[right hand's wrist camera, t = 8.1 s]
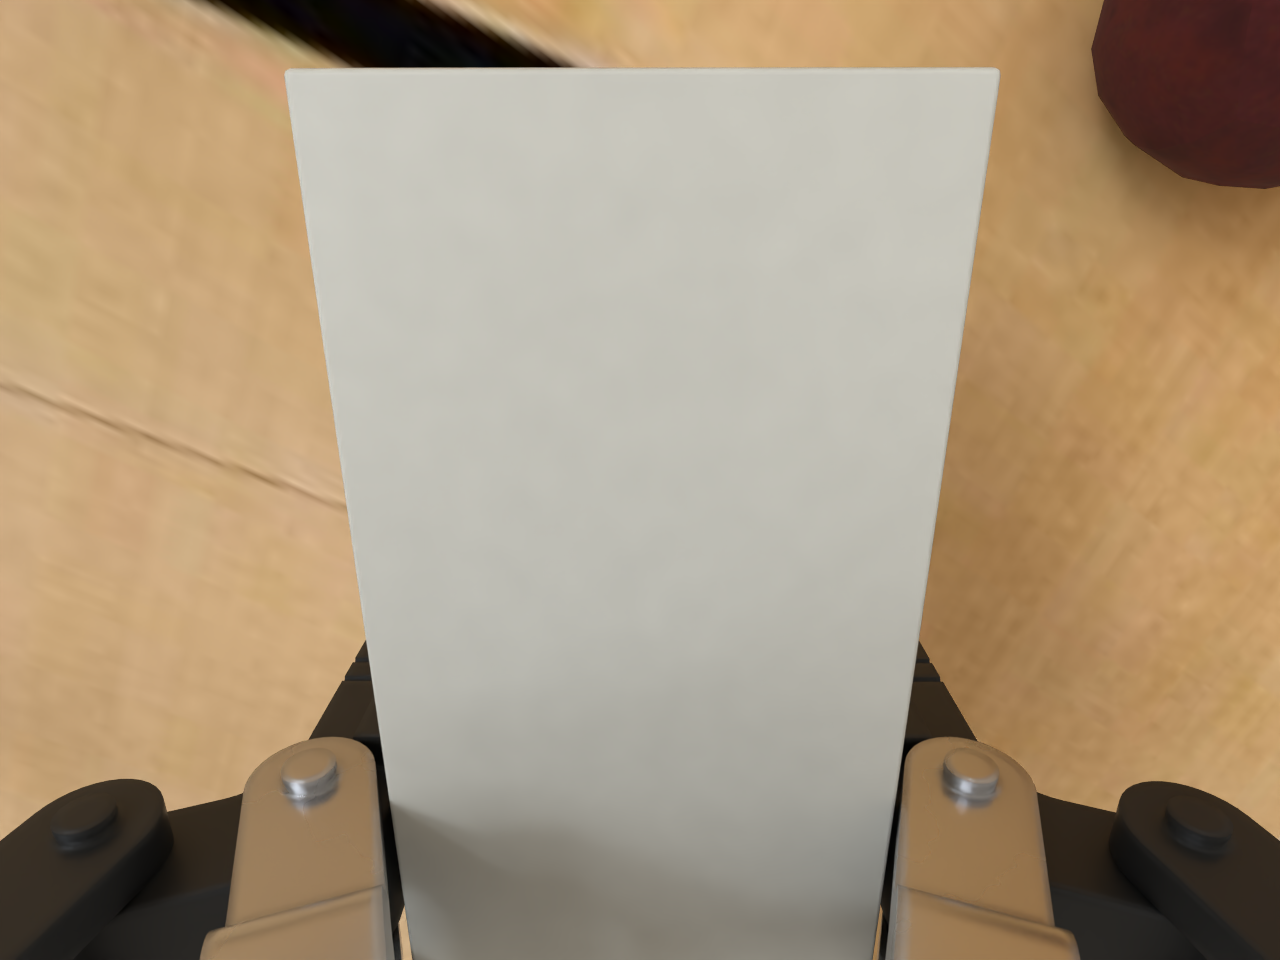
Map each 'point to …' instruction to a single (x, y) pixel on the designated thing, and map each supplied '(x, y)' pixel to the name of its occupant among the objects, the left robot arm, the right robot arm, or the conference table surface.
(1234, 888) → the right robot arm
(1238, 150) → the potato
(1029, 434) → the conference table surface
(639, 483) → the beam
